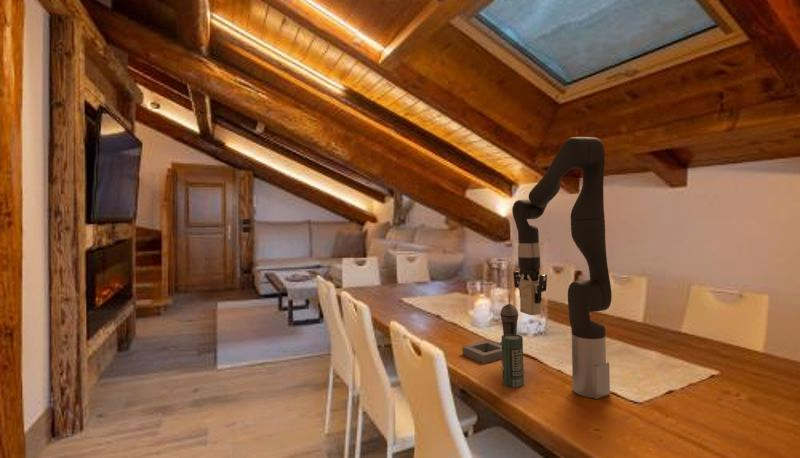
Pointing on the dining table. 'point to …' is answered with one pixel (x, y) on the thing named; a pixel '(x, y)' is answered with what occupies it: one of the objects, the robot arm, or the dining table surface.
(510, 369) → the can
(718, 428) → the dining table surface
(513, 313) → the beverage cup
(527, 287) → the skincare box
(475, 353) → the socket block
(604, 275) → the robot arm
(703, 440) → the dining table surface
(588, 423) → the dining table surface
